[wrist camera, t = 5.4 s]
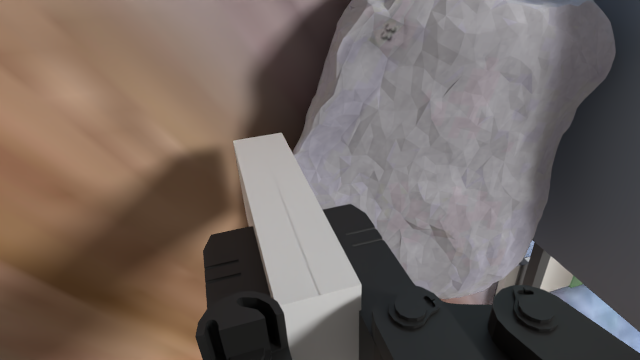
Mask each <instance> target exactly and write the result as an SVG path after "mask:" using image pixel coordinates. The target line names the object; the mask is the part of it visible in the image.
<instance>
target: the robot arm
mask: <svg viewBox="0 0 640 360" xmlns="http://www.w3.org/2000/svg"><path fill="white" fill-rule="evenodd" d="M233 144H234V150H235V155H236V161H237V167H238V172H239V178H240V183H241V189H242V195H243V200H244V206H245V211H246V217H247V221H248V225H249V227H245V228H241V229H236V230H231V231H227V232H222V233H217V234H213V235H211V236H210V238H209V240H208V242H207V244H206V246H205V248H204V250H203V255H204V268H205V282H206V297H207V310H206V312H205V313H204V315H203V316H202V318H201V319H200V321H199V322H198V327H197V332H196V340H197V343H198V346H199V349H200V352H201V355H202V358H203V360H640V353H638V352H637V351H635V350H634V349H633V348H631V347H630V346H628V345H627V344H625V343H624V342H622V341H621V340H619V339H618V338H617V337H615V336H614V335H612V334H611V333H609V332H608V331H606V330H605V329H603V328H602V327H601V326H599V325H598V324H596V323H595V322H593V321H592V320H590V319H589V318H587V317H586V316H585V315H583V314H582V313H580V312H579V311H577V310H576V309H574V308H573V307H571V306H570V305H569V304H567V303H566V302H564V301H563V300H561V299H560V298H558V297H557V296H555V295H553V294H551V293H549V292H547V291H545V290H543V289H540V288H536V287H532V286H529V285H512V286H509V287H506V288H503V289H501V290H500V291H499V292H498V293H497V294H496V295H495V296H494V300H493V304H492V305H468V304H451V303H446V302H442V301H441V300H440V299H439V298H438V297H437V296H436V295H435V294H434V293H433V292H431V291H429V290H427V289H425V288H423V287H420V286H416V285H415V284H414V283H413V282H412V280H411V279H410V277H409V276H408V274H407V273H406V272H405V270H404V269H403V267H402V266H401V264H400V263H399V261H398V260H397V258H396V257H395V255H394V254H393V252H392V251H391V249H390V248H389V247H388V245H387V244H386V242H385V241H384V240H383V239H382V236H381V235H380V233H379V232H378V230H377V229H375V226H374V224H373V223H372V221H371V220H370V219H369V217H368V216H367V214H366V213H365V212H363V211H361V210H360V209H358V208H357V207H355V206H354V205H352V204H347V205H342V206H337V207H333V208H328V209H323V210H322V208H321V206H320V205H319V203H318V201H317V199H316V197H315V195H314V193H313V191H312V189H311V187H310V186H309V184H308V182H307V180H306V178H305V176H304V174H303V172H302V170H301V168H300V167H299V165H298V163H297V161H296V159H295V157H294V155H293V153H292V151H291V149H290V148H289V146H288V144H287V142H286V140H285V138H284V136H283V134H282V133H276V134H270V135H264V136H258V137H252V138H246V139H240V140H234V141H233Z"/></svg>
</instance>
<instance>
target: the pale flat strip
mask: <svg viewBox="0 0 640 360" xmlns="http://www.w3.org/2000/svg"><path fill="white" fill-rule="evenodd" d="M529 260H530V257H527V258H523V260H522V261H521V262H520V263H519V264H518V265H517V266H516V267H515V268H514V269H513V270H512V271H511V272H510V273H509V274H508V275H507V276H505V277H504V278H503V279H502V280H500V281H499V283H498V287H497V290H496V294H497V293H498V292H499V291H500V290H501V289H503V288H506V287H509V286H512V285H522V283H523V280H524V277H525V273H526V270H527V266H528V263H529ZM582 284H583V283H582V282H581V281H579V280H578V279H577V278H576V277H575V276H574V275H572V274H571V273H570V272H569V271H568V270H567V269H565V268H564V267H563V266H562V265H561V264H560V263H558V262H557V261H556V260H555V259H554V258H553V257H550V260H549V263H548V266H547V269H546V272H545V275H544V278H543V281H542V284H541V287H540V289H543V290H545V291H547V292H550V291H553V290H557V289H560V288H563V287H567V286H569V287H570V288H572V287H575V286H579V285H582ZM496 294H495V295H496Z"/></svg>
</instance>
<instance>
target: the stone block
mask: <svg viewBox="0 0 640 360" xmlns="http://www.w3.org/2000/svg"><path fill="white" fill-rule="evenodd" d="M615 53H616V48H615V39H614V34H613V30H612V26H611V23H610V21H609V19H608V18H607V16H606V15H605V13H604V12H603V11H602V10H601V9H600V8H599V7H598V5H597V4H596V3H595V2H594V1H593V0H351V2H350V3H349V5H348V6H347V8H346V9H345V11H344V12H343V14H342V16H341V18H340V19H339V21H338V23H337V29H336V31H335V34H334V37H333V40H332V42H331V46H330V49H329V52H328V55H327V58H326V60H325V64H324V68H323V72H322V75H321V78H320V81H319V84H318V88H317V92H316V95H315V96H314V97H313V99H312V102H311V105H310V107H309V109H308V112H307V115H306V122H305V126H304V130H303V132H302V134H301V137H300V139H299V141H298V143H297V145H296V146H295V148H294V150H293V155H294V157H295V159H296V161H297V163H298V165H299V167H300V168H301V170H302V172H303V174H304V176H305V178H306V180H307V182H308V184H309V186H310V187H311V189H312V191H313V193H314V195H315V197H316V199H317V201H318V203H319V205H320V206H321V208H322V210H323V209H328V208H333V207H337V206H342V205H347V204H352V205H354V206H355V207H357V208H358V209H360V210H361V211H363V212H365V213H366V214H367V216H368V217H369V219H370V220H371V221H372V223H373V224H374V226H375V229H377V230H378V232H379V233H380V235H381V236H382V239H383V240H384V241H385V242H386V244H387V245H388V247H389V248H390V249H391V251H392V252H393V254H394V255H395V257H396V258H397V260H398V261H399V263H400V264H401V266H402V267H403V269H404V270H405V272H406V273H407V274H408V276H409V277H410V279H411V280H412V282H413V283H414V284H415V285H416V286H420V287H423V288H425V289H427V290H429V291H431V292H433V293H434V294H435V295H436V296H437V297H438V298H441V299H449V298H459V297H463V296H467V295H471V294H474V293H478V292H482V291H484V290H486V289H487V288H489V287H490V286H491V285H492V284H493V283H495V282H497V281H500V280H502V279H503V278H504V277H505V276H507V275H508V274H509V273H510V272H511V271H512V270H513V269H514V268H515V267H516V266H517V265H518V264H519V263H520V262H521V261H522V260H523V258H524V256H525V255H526V253H527V250H528V248H529V245H530V242H531V241H532V239H533V237H534V235H535V232H536V229H537V225H538V222H539V220H540V219H541V217H542V214H543V210H544V208H545V205H546V203H547V200H548V195H549V189H550V179H551V171H552V165H553V162H554V158H555V154H556V151H557V148H558V145H559V142H560V140H561V138H562V135H563V134H564V133H565V132H566V131H567V129H568V128H569V127H570V125H571V123H572V121H573V118H574V115H575V112H576V110H577V107H578V106H579V105H580V104H581V103H582V101H583V100H584V99H585V98H586V97H587V96H588V95H589V94H590V93H592V92H593V91H594V90H595V88H596V87H597V86H598V85H599V84H600V83H601V82H602V81H603V80H604V79H605V78H606V76H607V75H608V73H609V71H610V69H611V66H612V63H613V60H614V57H615Z"/></svg>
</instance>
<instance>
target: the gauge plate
mask: <svg viewBox="0 0 640 360" xmlns="http://www.w3.org/2000/svg"><path fill="white" fill-rule="evenodd" d="M593 1H594V2H595V3H596V4H597V5H598V7H599V8H600V9H601V10H602V11H603V12H604V13H605V15H606V16H607V18H608V19H609V21H610V23H611V26H612V30H613V34H614V39H615V48H616V53H615V57H614V60H613V63H612V66H611V69H610V71H609V73H608V75H607V76H606V78H605V79H604V80H603V81H602V82H601V83H600V84H599V85H598V86H597V87H596V88H595V90H594V91H593V92H592V93H590V94H589V95H588V96H587V97H586V98H585V99H584V100H583V101H582V103H581V104H580V105H579V106H578V107H577V110H576V112H575V115H574V118H573V121H572V123H571V125H570V127H569V128H568V129H567V131H566V132H565V133H564V134H563V135H562V138H561V140H560V142H559V145H558V148H557V151H556V154H555V158H554V162H553V165H552V171H551V179H550V189H549V195H548V200H547V203H546V205H545V208H544V210H543V214H542V217H541V219H540V220H539V222H538V225H537V229H536V232H535V235H534V237H533V239H532V240H533V241H534V242H535V243H534V246H533V250H532V253H531V256H530V260H529V263H528V266H527V270H526V273H525V277H524V280H523V283H522V285H529V286H532V287H536V288H540V287H541V284H542V281H543V278H544V275H545V272H546V269H547V266H548V263H549V260H550V257H553V258H554V259H555V260H556V261H557V262H558V263H560V264H561V265H562V266H563V267H564V268H565V269H567V270H568V271H569V272H570V273H571V274H572V275H574V276H575V277H576V278H577V279H578V280H579V281H581V282H582V283H583V284H584V285H585V286H586V287H588V288H589V289H590V290H591V291H592V292H593V293H595V294H596V295H597V296H598V297H599V298H600V299H602V300H603V301H604V302H605V303H606V304H607V305H609V306H610V307H611V308H612V309H613V310H614V311H616V312H617V313H618V314H619V315H620V316H621V317H623V318H624V319H625V320H626V321H627V322H629V323H630V324H631V325H632V326H633V327H634V328H636V329H637V330H638V331H639V332H640V0H593Z"/></svg>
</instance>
